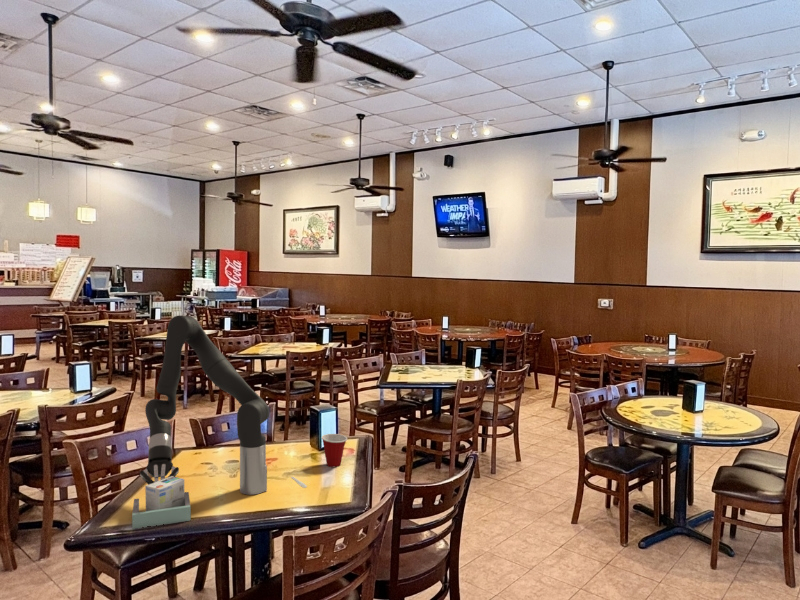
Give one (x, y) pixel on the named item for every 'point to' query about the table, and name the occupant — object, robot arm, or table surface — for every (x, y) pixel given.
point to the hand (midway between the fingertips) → (159, 496)
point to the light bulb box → (165, 494)
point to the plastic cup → (333, 448)
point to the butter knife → (299, 482)
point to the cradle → (161, 514)
